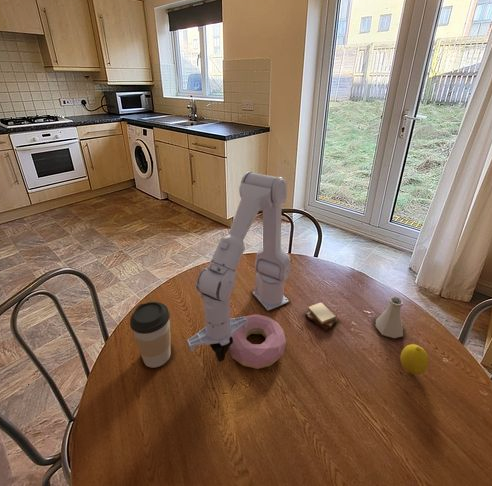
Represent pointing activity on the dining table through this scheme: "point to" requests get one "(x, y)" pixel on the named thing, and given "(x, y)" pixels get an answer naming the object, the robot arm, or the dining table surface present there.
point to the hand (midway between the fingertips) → (220, 357)
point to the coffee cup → (152, 333)
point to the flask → (391, 319)
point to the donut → (262, 352)
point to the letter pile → (321, 316)
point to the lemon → (414, 359)
